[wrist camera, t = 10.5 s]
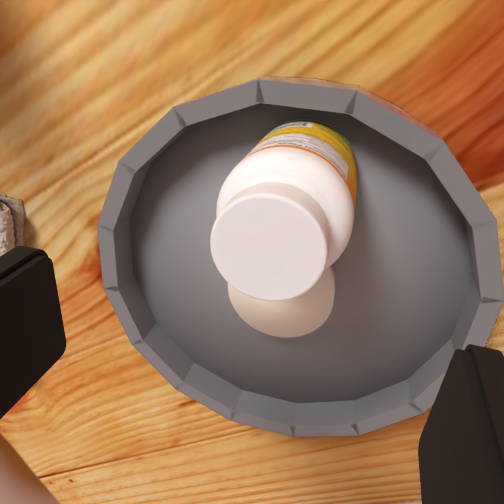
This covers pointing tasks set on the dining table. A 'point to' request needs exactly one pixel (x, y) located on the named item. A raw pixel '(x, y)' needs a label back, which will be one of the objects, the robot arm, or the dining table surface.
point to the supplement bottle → (286, 211)
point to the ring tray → (330, 283)
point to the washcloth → (11, 223)
